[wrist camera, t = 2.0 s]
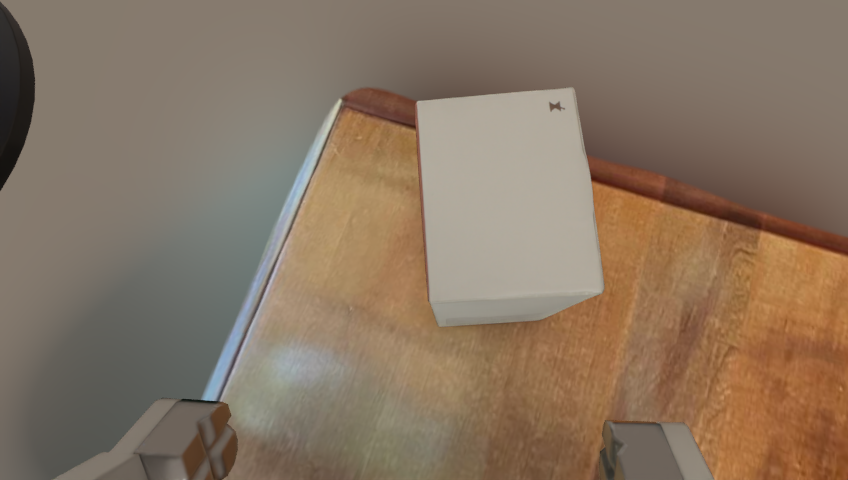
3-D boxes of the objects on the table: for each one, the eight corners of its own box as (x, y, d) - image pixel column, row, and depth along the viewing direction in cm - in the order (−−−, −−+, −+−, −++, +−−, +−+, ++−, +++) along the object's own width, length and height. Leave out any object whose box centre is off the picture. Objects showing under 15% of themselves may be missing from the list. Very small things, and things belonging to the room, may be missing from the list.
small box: (426, 201, 32) (412, 95, 19) (526, 194, 32) (578, 81, 19) (435, 330, 30) (426, 306, 17) (542, 323, 30) (612, 292, 17)
